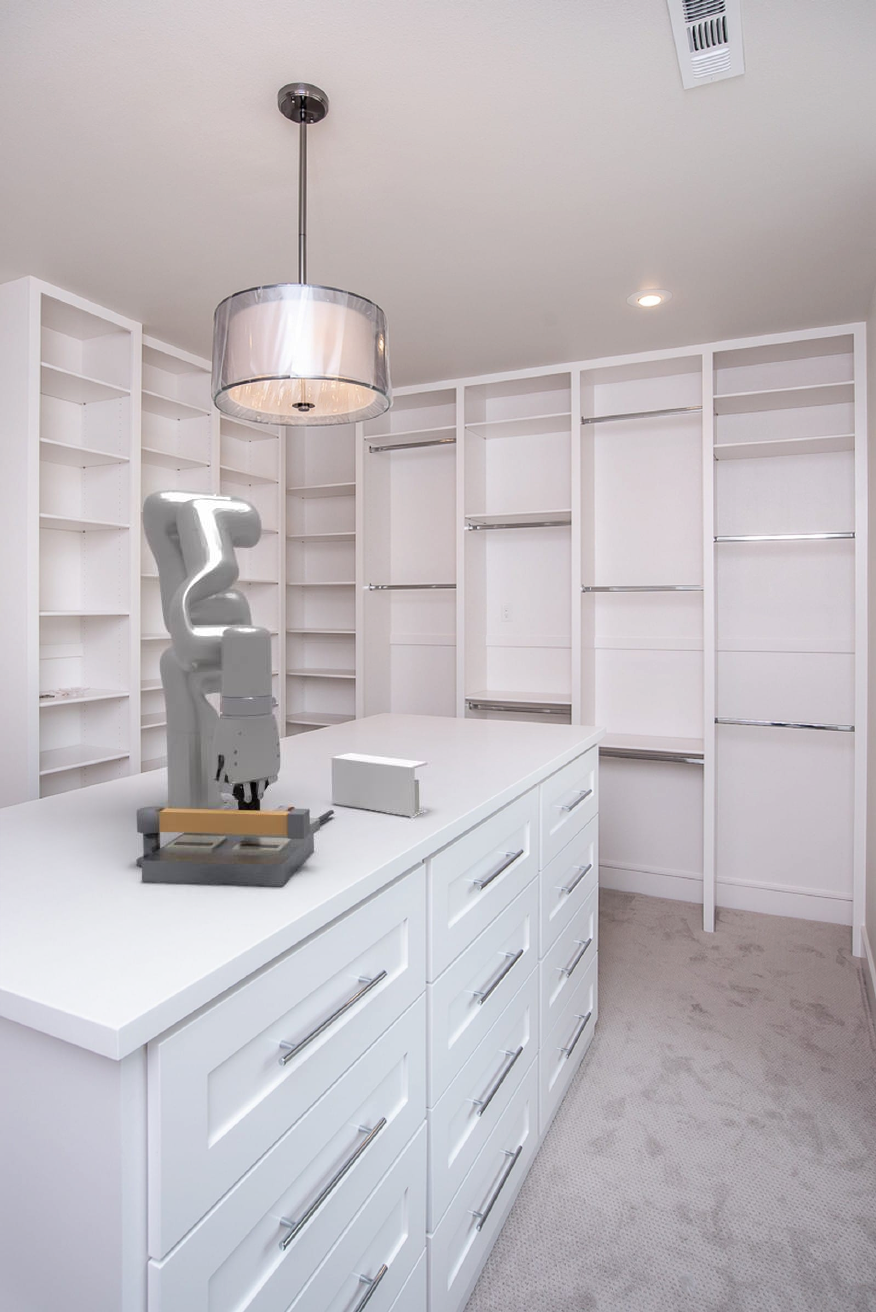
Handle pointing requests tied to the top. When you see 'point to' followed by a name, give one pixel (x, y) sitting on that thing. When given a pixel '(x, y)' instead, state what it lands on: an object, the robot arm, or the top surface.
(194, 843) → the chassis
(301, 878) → the top surface
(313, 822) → the walkie-talkie
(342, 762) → the cigarette display
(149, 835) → the pivot post
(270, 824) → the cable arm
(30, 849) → the top surface
